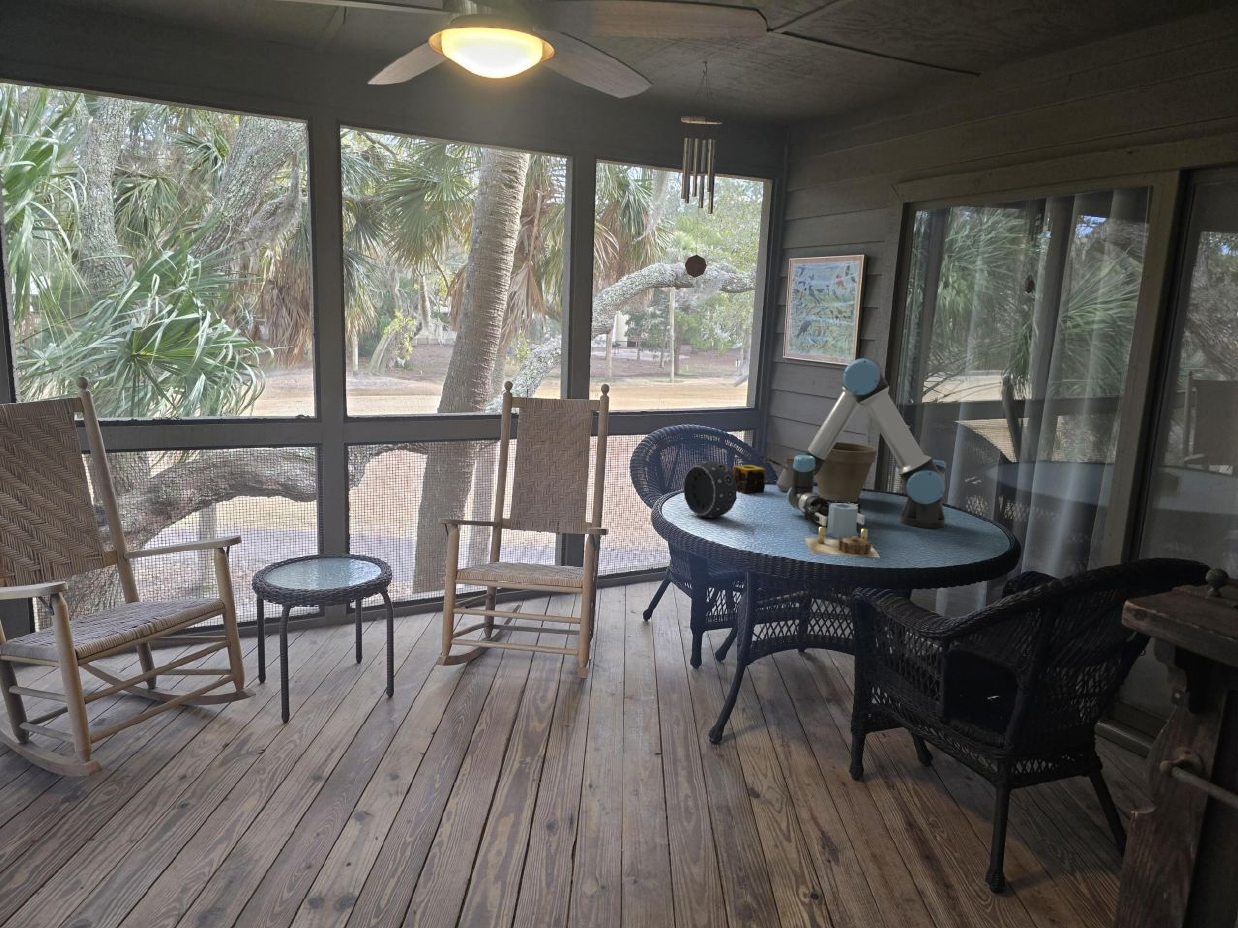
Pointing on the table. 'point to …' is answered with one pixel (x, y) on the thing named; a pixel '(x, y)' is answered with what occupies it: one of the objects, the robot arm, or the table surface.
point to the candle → (749, 479)
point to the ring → (710, 489)
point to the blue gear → (842, 520)
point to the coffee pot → (785, 474)
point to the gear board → (832, 548)
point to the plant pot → (845, 471)
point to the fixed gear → (854, 545)
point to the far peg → (864, 533)
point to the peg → (821, 535)
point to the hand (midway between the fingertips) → (844, 521)
